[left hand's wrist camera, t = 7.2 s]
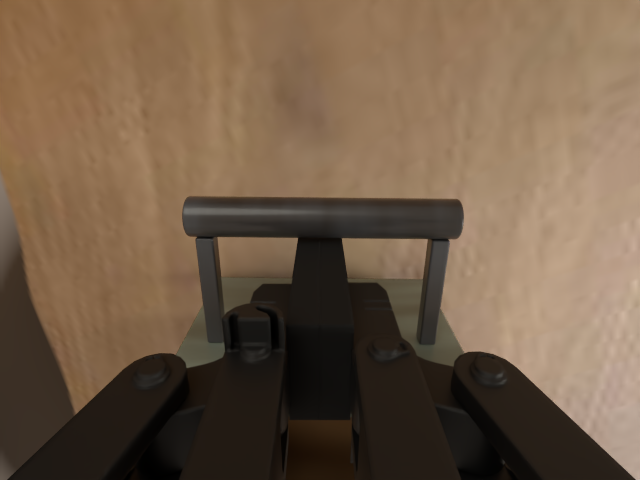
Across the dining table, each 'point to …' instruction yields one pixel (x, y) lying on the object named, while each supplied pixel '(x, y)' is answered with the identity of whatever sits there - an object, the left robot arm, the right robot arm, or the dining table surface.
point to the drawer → (404, 294)
